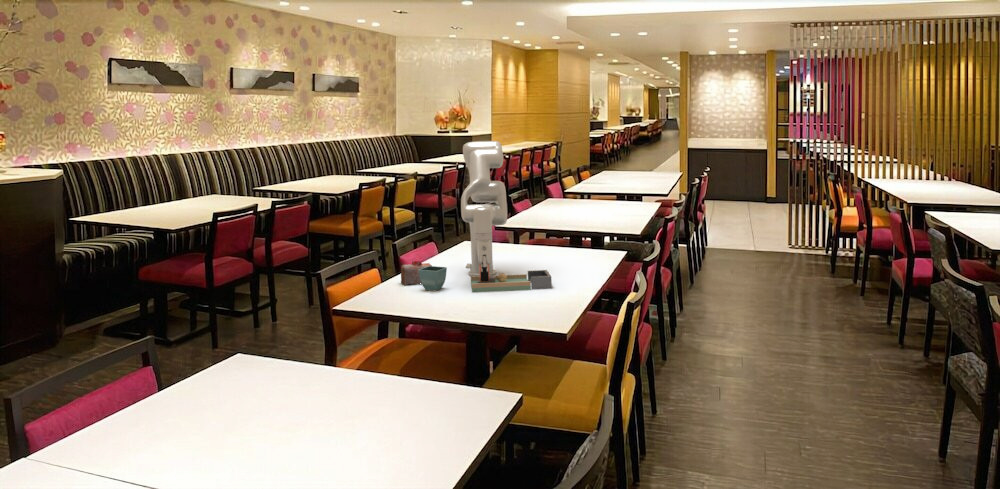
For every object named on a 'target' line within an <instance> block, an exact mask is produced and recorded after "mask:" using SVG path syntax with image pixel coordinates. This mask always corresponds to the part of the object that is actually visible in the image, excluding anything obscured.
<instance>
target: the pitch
mask: <svg viewBox="0 0 1000 489" xmlns="http://www.w3.org/2000/svg"><path fill="white" fill-rule="evenodd" d="M498 275H499V274H497V275H496V274H495V283H477V280H479V276H470V287H471V293H487V292H488V293H489V292H491V293H492V292H508V291H512V292H513V291H528V290H529V291H531V290H532V289H531V281H528V273H524V274H519V273H518V274H506V276H507V280H506V282H499V281H498Z"/></svg>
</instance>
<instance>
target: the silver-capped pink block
mask: <svg viewBox="0 0 1000 489" xmlns="http://www.w3.org/2000/svg"><path fill="white" fill-rule="evenodd" d="M486 264H487V263H486ZM482 267H483V266H482ZM482 270H483V269H482ZM495 275H496V274H495ZM495 275H489V264H488V276H489V281H481V265H480V264H479V280H477V283H495Z"/></svg>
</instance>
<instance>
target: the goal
mask: <svg viewBox="0 0 1000 489" xmlns="http://www.w3.org/2000/svg"><path fill="white" fill-rule="evenodd" d="M527 279H528V281H531V290H541V289H542V290H544V289H547V290H548V289H552V287H553V286H552V275H551V274H550V273H549V271H548V270H547V269H539V270H527Z"/></svg>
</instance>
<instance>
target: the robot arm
mask: <svg viewBox="0 0 1000 489" xmlns="http://www.w3.org/2000/svg"><path fill="white" fill-rule="evenodd" d="M462 155H463V159H464V162H465V165H466V167H467V169H468V173H469V184H468V185H467V187H465V189H464V190H463V192H462V195H461V198H460V213H461V214H460V215H461V218H462V221H463V222H465V223H468V224H469V232H470V252H471V254H470V256H471V263H467V264H466V265H465V268H466V269H469V271H468V275H469V276H470V277H471V276H479V264H480V265H481V281H489V276H488V264H489V275H496V274H497V270H495V269H494V266H493V265H494V264H493V262H494V260H493V226H504V225H505V224H506V223H507V221H508V207H507V206H508V204H507V192H506V186H505V184H504V182H502V181H500V180H491V173H490V169H499V168H501V167H502V166H503V165H504V151H503V147H502V143H501V142H500V141H497V140H478V141H475V140H474V141H469V142H466V143H465V144H463V145H462ZM469 198H471V200H472V202H474V203H476V204H468V200H469ZM477 203H478V204H477ZM479 203H480V204H479ZM484 203H485V204H484ZM486 203H487V204H486ZM488 203H489V204H488ZM491 203H493V204H491ZM494 203H495V204H494ZM486 263H487V264H486ZM482 266H483V267H482ZM482 269H483V270H482Z"/></svg>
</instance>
